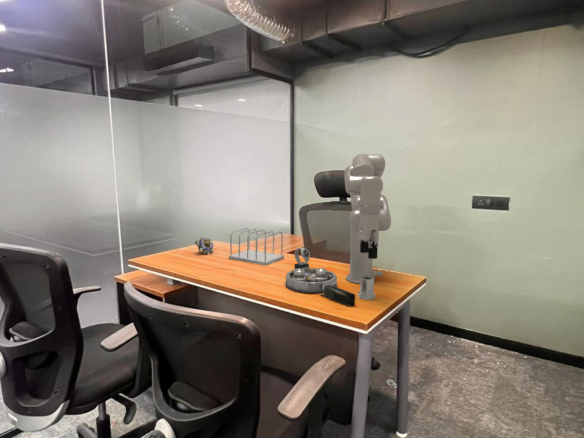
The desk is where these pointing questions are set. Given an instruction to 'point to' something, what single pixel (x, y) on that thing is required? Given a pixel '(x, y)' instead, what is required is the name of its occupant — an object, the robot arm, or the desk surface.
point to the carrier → (309, 279)
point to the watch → (305, 255)
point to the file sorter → (253, 255)
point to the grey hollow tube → (366, 288)
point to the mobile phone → (339, 295)
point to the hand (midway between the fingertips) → (368, 255)
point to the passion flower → (205, 245)
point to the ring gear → (310, 285)
